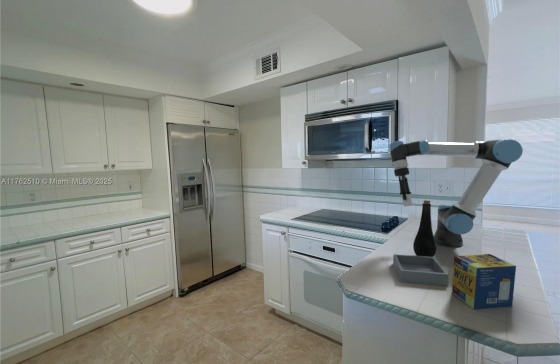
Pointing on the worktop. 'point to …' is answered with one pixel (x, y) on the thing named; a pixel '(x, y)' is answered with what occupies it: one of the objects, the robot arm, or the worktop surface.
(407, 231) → the worktop surface
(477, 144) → the robot arm
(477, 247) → the worktop surface
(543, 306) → the worktop surface
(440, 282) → the tray
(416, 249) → the bottle
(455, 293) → the protein box
